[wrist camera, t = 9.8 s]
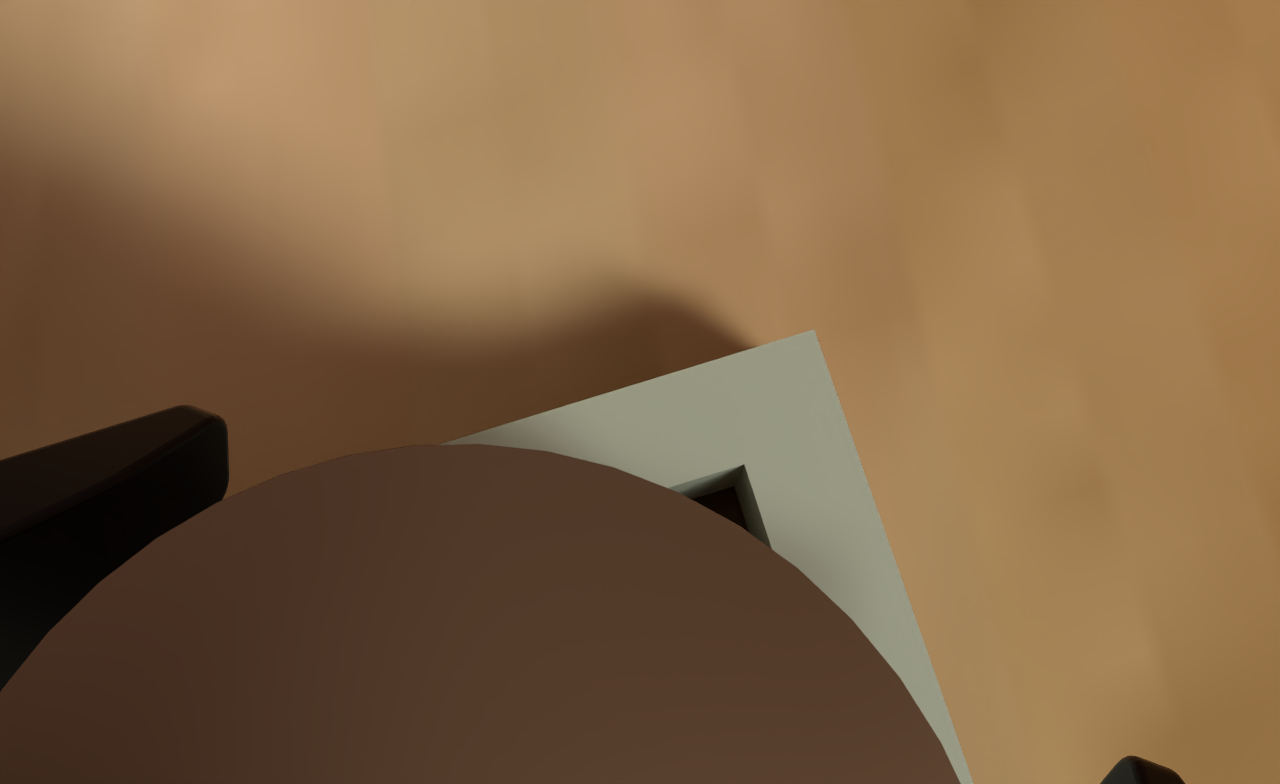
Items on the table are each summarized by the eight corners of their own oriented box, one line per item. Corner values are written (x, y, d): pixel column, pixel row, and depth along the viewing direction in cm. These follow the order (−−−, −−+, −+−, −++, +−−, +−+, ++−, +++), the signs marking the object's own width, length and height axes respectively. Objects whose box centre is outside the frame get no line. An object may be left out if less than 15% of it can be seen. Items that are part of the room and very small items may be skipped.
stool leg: (815, 718, 16) (1280, 1206, 3) (596, 879, 15) (228, 2058, 3) (662, 499, 16) (587, 247, 4) (450, 649, 16) (-308, 853, 4)
